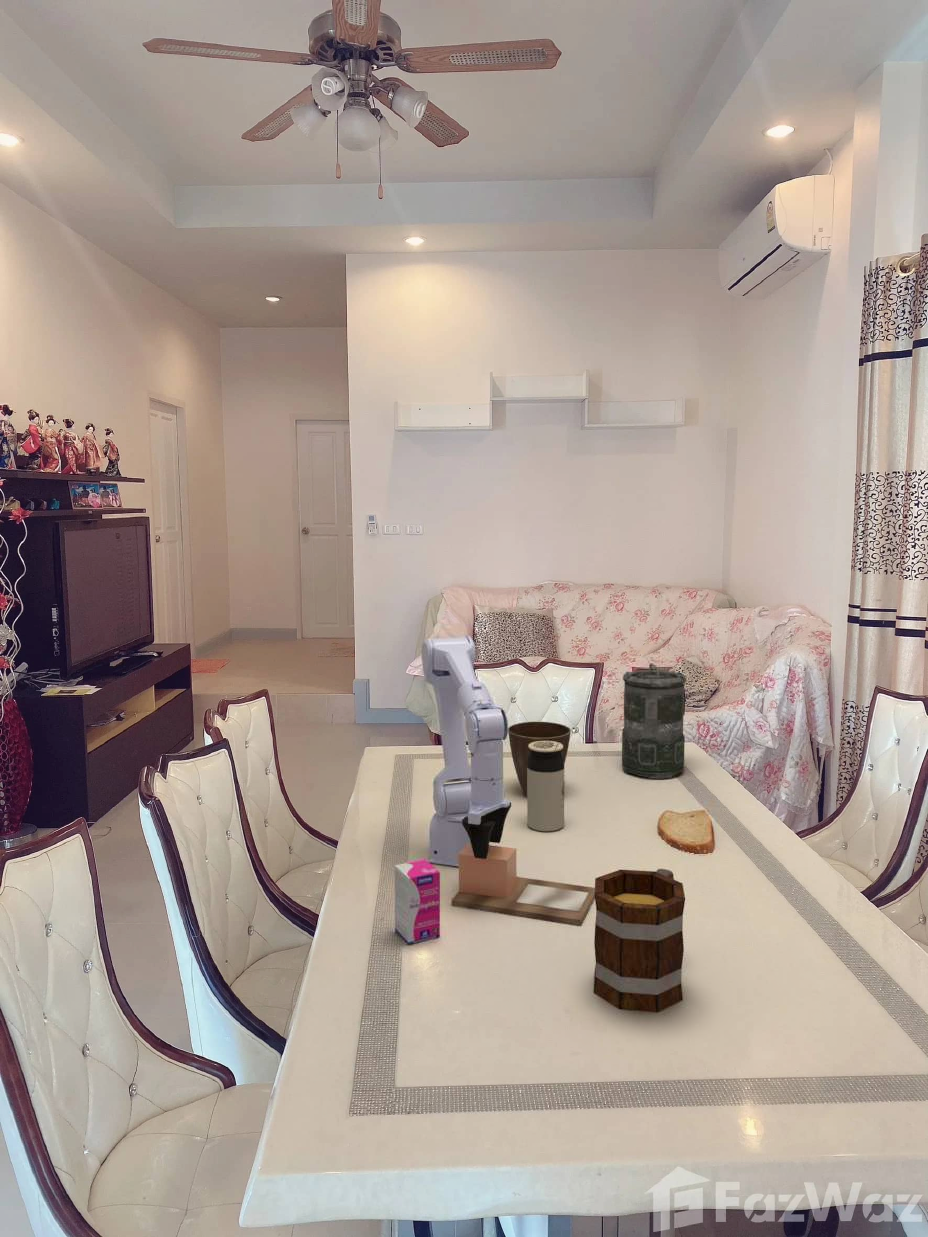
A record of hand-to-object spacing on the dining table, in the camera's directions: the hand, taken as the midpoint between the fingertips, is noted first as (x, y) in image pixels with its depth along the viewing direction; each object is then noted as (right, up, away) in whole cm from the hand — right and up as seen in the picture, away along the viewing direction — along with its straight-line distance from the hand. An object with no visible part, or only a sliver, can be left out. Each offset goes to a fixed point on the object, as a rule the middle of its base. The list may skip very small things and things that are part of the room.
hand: (487, 849), depth 159 cm
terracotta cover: (0, -7, +1) cm, 7 cm away
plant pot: (+14, -1, +55) cm, 57 cm away
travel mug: (+13, -4, +34) cm, 37 cm away
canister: (+45, +1, +72) cm, 85 cm away
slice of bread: (+44, -5, +29) cm, 52 cm away
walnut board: (+7, -9, -1) cm, 11 cm away
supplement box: (-12, -11, -14) cm, 21 cm away
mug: (+23, -12, -27) cm, 37 cm away
